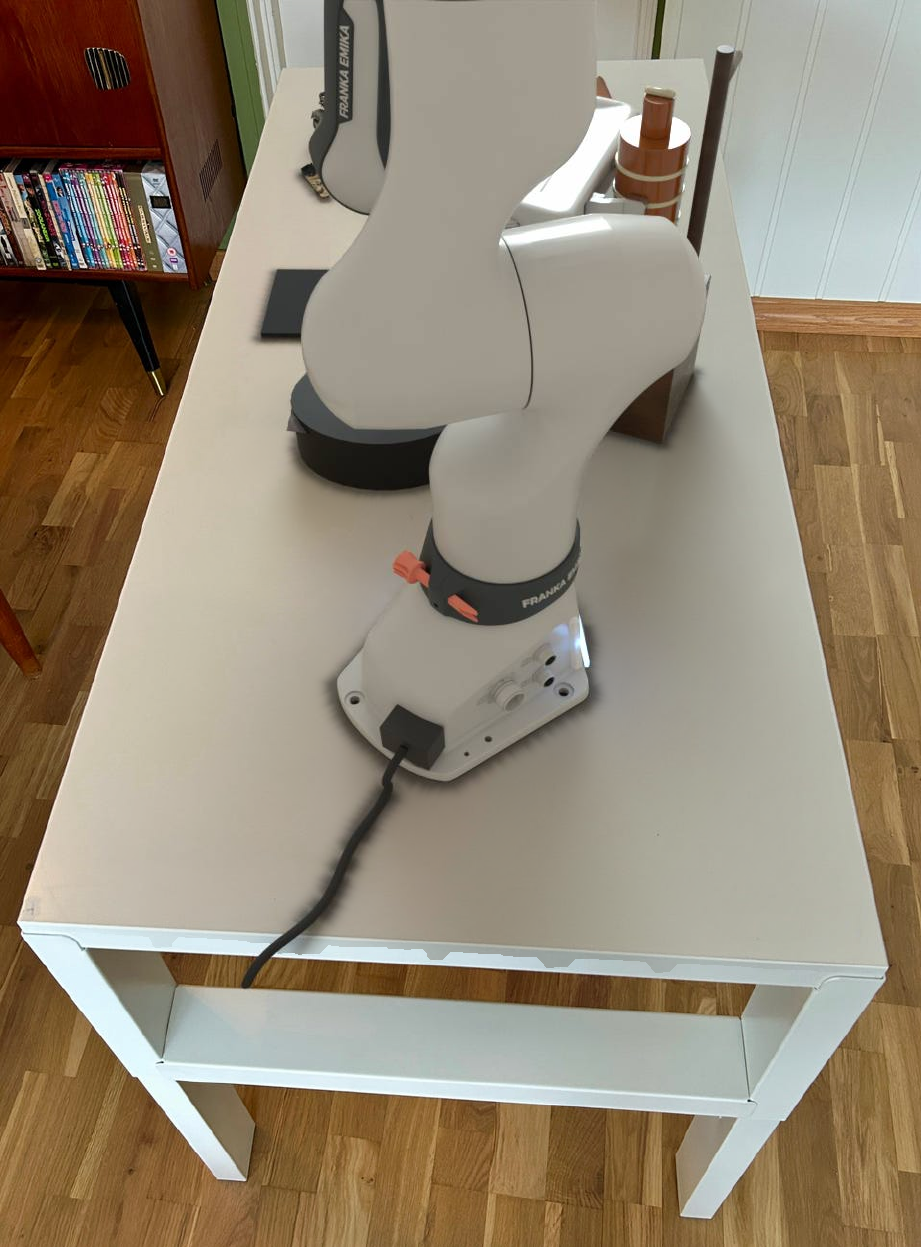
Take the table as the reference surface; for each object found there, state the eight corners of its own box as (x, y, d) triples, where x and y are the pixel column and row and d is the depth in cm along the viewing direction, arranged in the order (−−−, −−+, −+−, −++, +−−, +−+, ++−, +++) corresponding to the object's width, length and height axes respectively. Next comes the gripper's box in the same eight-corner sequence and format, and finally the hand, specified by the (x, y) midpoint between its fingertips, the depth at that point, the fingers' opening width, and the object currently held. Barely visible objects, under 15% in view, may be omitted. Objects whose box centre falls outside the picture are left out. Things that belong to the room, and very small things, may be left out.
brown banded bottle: (596, 268, 99) (611, 100, 86) (617, 231, 102) (635, 65, 90) (662, 282, 97) (687, 113, 85) (681, 245, 101) (708, 77, 88)
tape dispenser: (460, 506, 105) (464, 449, 99) (281, 482, 106) (274, 424, 100) (479, 410, 114) (484, 353, 108) (314, 388, 115) (309, 331, 109)
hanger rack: (549, 415, 111) (568, 61, 83) (587, 345, 118) (616, -4, 89) (661, 444, 108) (721, 87, 80) (693, 371, 115) (759, 18, 86)
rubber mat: (367, 338, 120) (366, 334, 119) (261, 337, 120) (260, 333, 120) (377, 274, 127) (377, 269, 126) (277, 273, 127) (276, 268, 127)
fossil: (300, 172, 141) (298, 166, 140) (313, 166, 141) (311, 161, 141) (322, 201, 137) (320, 195, 136) (335, 195, 137) (333, 189, 136)
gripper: (466, 185, 89) (625, 217, 86) (550, 74, 101) (694, 99, 97) (467, 251, 94) (618, 285, 91) (547, 139, 106) (684, 165, 102)
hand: (658, 188), depth 94 cm, fingers closed on brown banded bottle, 6 cm apart
